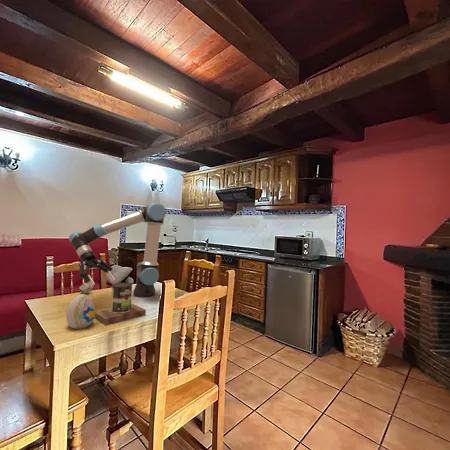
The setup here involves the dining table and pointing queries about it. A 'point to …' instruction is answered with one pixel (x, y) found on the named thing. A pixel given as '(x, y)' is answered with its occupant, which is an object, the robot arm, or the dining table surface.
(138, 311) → the walnut board
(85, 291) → the game die
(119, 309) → the coffee can
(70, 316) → the decorative egg
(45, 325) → the dining table surface
